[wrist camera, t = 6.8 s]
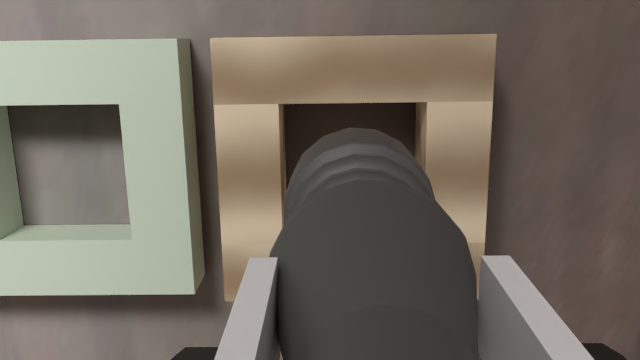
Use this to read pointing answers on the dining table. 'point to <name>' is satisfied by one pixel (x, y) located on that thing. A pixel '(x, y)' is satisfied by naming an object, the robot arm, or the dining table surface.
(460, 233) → the candle holder
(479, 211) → the birch collar
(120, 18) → the dining table surface
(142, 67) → the green collar
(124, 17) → the dining table surface
